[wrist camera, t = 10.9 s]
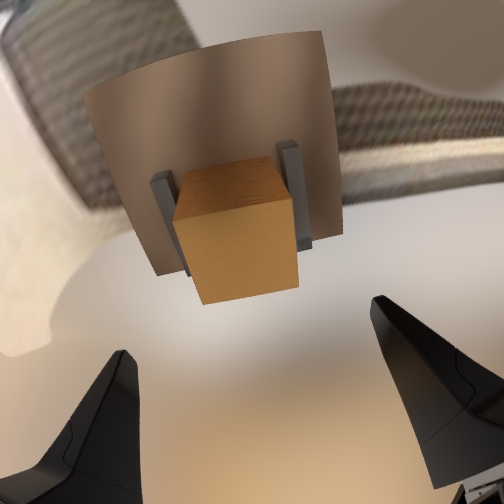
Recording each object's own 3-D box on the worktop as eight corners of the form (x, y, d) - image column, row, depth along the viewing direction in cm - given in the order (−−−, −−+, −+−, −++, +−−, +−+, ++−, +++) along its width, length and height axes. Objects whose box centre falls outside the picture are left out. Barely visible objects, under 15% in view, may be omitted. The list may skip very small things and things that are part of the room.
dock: (313, 33, 13) (330, 27, 11) (335, 223, 22) (350, 245, 19) (91, 90, 14) (70, 96, 11) (160, 263, 22) (154, 289, 20)
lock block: (268, 155, 17) (292, 198, 12) (277, 226, 19) (299, 287, 15) (185, 172, 17) (172, 221, 12) (204, 240, 19) (202, 304, 15)
